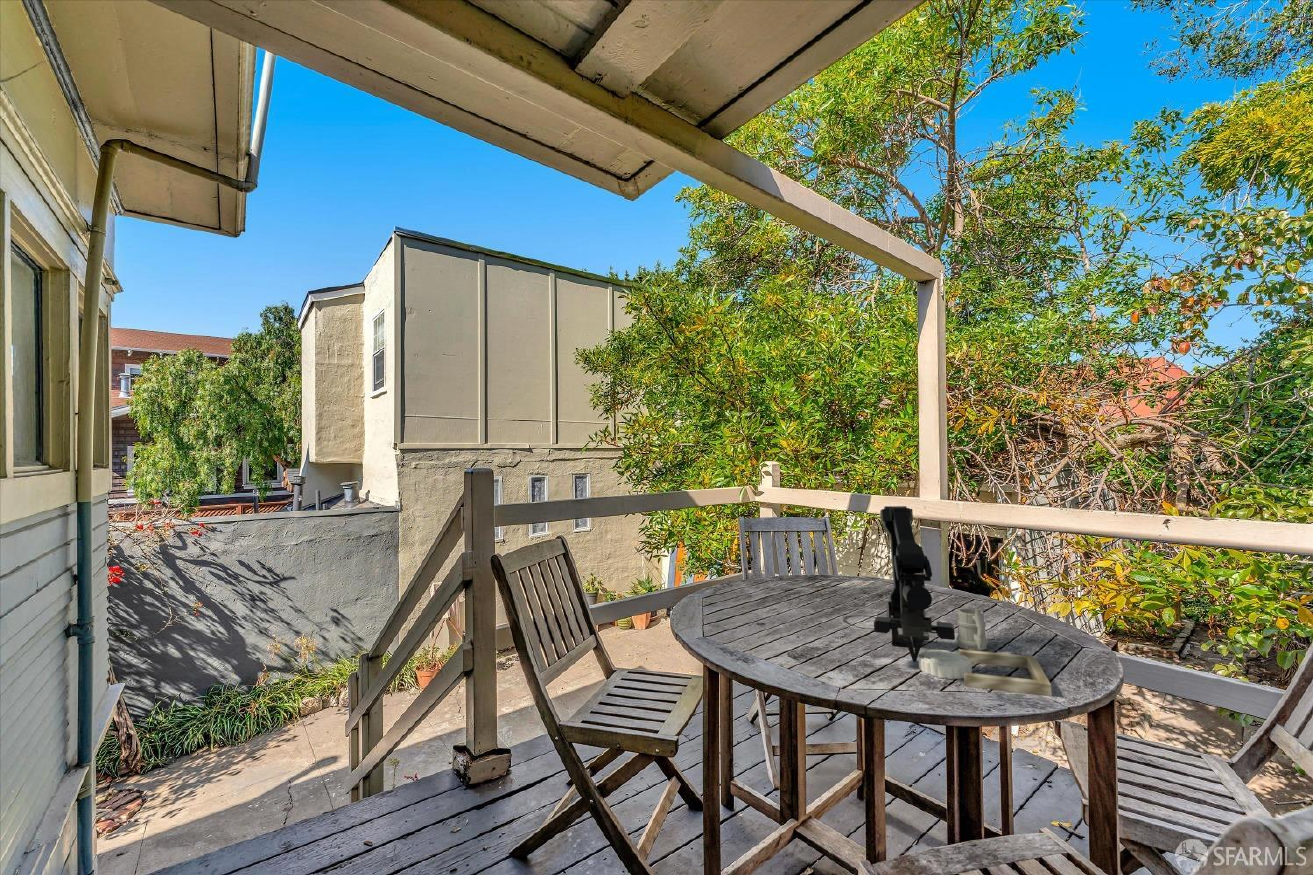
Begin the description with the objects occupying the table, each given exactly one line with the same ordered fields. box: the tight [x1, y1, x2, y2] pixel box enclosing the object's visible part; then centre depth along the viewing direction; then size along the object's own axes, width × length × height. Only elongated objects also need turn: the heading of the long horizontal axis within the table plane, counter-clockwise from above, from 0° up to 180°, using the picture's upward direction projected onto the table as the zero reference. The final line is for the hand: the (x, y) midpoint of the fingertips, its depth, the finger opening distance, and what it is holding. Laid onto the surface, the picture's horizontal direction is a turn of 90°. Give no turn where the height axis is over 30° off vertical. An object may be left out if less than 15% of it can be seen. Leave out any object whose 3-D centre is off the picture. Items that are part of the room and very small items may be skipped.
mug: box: [956, 607, 989, 651], centre depth 159 cm, size 8×12×12 cm, turn 171°
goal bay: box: [958, 648, 1052, 697], centre depth 140 cm, size 17×19×2 cm
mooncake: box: [918, 649, 973, 680], centre depth 145 cm, size 12×12×4 cm
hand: (914, 661), depth 148 cm, fingers closed
